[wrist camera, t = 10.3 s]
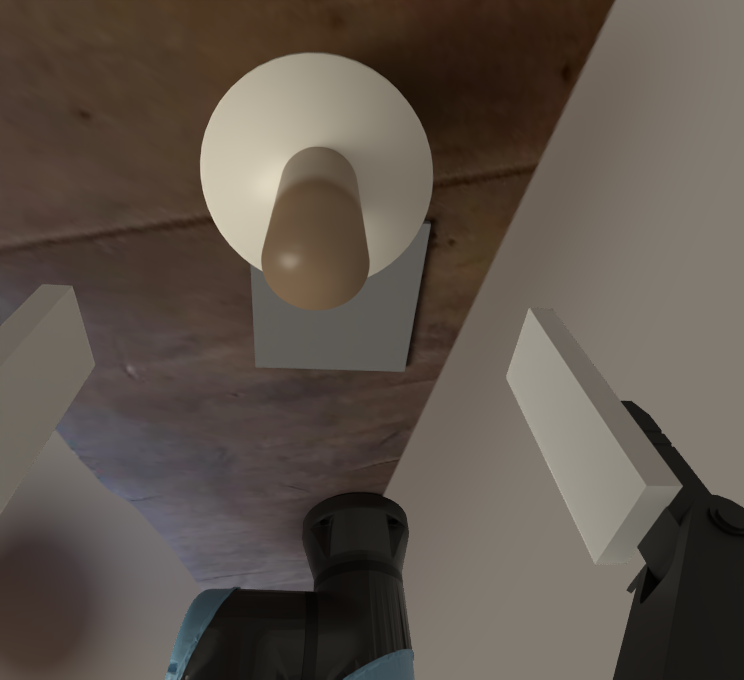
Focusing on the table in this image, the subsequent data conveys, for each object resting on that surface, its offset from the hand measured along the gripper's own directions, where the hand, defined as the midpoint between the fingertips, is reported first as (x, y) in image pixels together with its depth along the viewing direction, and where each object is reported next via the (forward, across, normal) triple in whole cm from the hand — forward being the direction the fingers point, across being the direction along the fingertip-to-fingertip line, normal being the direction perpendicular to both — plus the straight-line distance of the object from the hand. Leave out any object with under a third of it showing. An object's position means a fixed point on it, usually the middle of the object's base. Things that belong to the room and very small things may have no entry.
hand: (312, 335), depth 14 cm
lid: (+14, 0, 0) cm, 14 cm away
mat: (+29, -2, +16) cm, 33 cm away
